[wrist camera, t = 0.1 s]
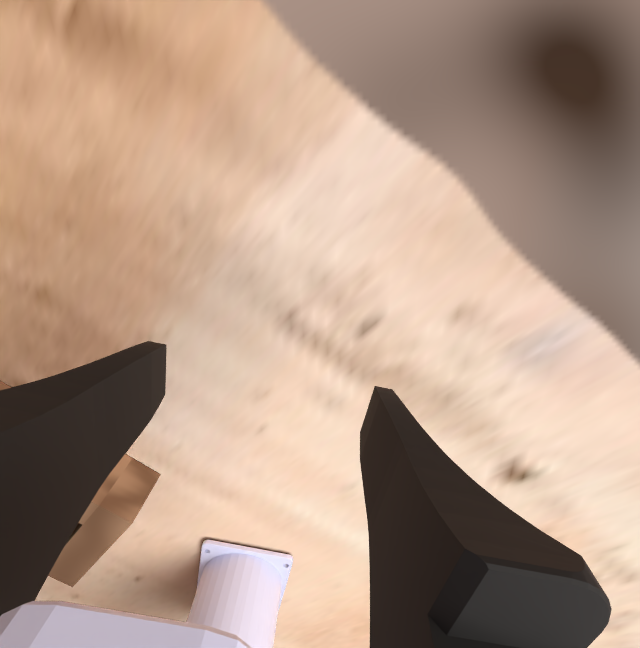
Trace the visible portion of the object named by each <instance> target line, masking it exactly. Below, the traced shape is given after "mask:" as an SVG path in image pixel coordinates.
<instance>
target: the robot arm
mask: <svg viewBox="0 0 640 648" xmlns="http://www.w3.org/2000/svg"><path fill="white" fill-rule="evenodd" d="M165 382H166V345H165V344H160V343H155V342H150V341H148V342H144V343H141V344H138V345H136V346H133V347H130V348H128V349H125V350H123V351H120V352H118V353H115V354H112V355H110V356H107V357H105V358H102V359H100V360H97V361H94V362H92V363H89V364H86V365H83V366H81V367H78V368H75V369H72V370H69V371H66V372H63V373H61V374H58V375H55V376H51V377H48V378H45V379H41V380H38V381H35V382H31V383H27V384H23V385H20V386H16V387H12V388H8V389H3V390H0V648H273V646H274V638H275V631H276V623H277V616H278V611H279V608H280V604H281V601H282V598H283V594H284V591H285V587H286V584H287V581H288V577H289V574H290V570H291V567H292V563H293V557H292V556H291V555H289V554H284V553H278V552H273V551H267V550H262V549H257V548H251V547H246V546H240V545H235V544H230V543H224V542H219V541H214V540H205V541H204V542H203V544H202V549H201V557H200V565H199V574H198V582H197V591H196V594H195V597H194V600H193V603H192V606H191V609H190V612H189V615H188V618H187V621H186V622H182V621H177V620H171V619H165V618H159V617H153V616H147V615H141V614H135V613H129V612H123V611H117V610H111V609H105V608H99V607H93V606H87V605H81V604H75V603H69V602H63V601H34V600H35V599H36V597H37V595H38V593H39V591H40V589H41V587H42V586H43V584H44V582H45V580H46V578H47V577H48V575H49V573H50V571H51V569H52V568H53V566H54V564H55V562H56V560H57V559H58V557H59V555H60V553H61V551H62V550H63V548H64V546H65V545H66V543H67V541H68V540H69V538H70V536H71V534H72V533H73V531H74V529H75V528H76V526H77V524H78V523H79V521H80V519H81V517H82V516H83V514H84V513H85V511H86V509H87V508H88V506H89V505H90V503H91V501H92V500H93V498H94V496H95V495H96V493H97V492H98V490H99V488H100V487H101V485H102V484H103V483H104V481H105V480H106V478H107V477H108V476H109V474H110V473H111V472H112V470H113V469H114V468H115V466H116V465H117V464H118V462H119V461H120V460H121V459H122V457H123V456H124V455H125V453H126V452H127V451H128V449H129V448H130V447H131V445H132V444H133V443H134V442H135V440H136V439H137V438H138V436H139V435H140V434H141V432H142V431H143V430H144V428H145V427H146V426H147V424H148V423H149V422H150V420H151V419H152V417H153V415H154V414H155V412H156V410H157V409H158V407H159V405H160V403H161V401H162V399H163V398H164V396H165ZM360 463H361V471H362V480H363V488H364V496H365V504H366V512H367V520H368V531H369V557H370V648H587V647H588V646H589V645H590V644H591V643H592V642H593V641H594V640H595V639H596V638H597V637H598V636H599V635H600V634H601V633H602V631H603V630H604V628H605V627H606V625H607V624H608V622H609V618H610V614H611V606H610V602H609V599H608V597H607V596H606V594H605V592H604V591H603V589H602V588H601V586H600V585H599V583H598V581H597V580H596V578H595V577H594V575H593V573H592V572H591V570H590V569H589V567H588V565H587V564H586V562H585V561H584V559H583V558H582V556H581V555H579V554H578V553H576V552H574V551H573V550H571V549H569V548H568V547H566V546H565V545H563V544H561V543H560V542H558V541H557V540H555V539H553V538H552V537H550V536H549V535H547V534H545V533H544V532H542V531H541V530H539V529H537V528H536V527H534V526H533V525H532V524H530V523H529V522H527V521H526V520H524V519H523V518H522V517H520V516H519V515H517V514H516V513H514V512H513V511H512V510H510V509H509V508H508V507H506V506H505V505H504V504H502V503H501V502H500V501H498V500H497V499H496V498H494V497H493V496H492V495H491V494H490V493H488V492H487V491H486V490H485V489H483V488H482V487H481V486H480V485H478V484H477V483H476V482H475V481H474V480H473V479H472V478H470V477H469V476H468V475H467V474H466V473H465V472H464V471H463V470H462V469H461V468H460V467H459V466H457V465H456V464H455V463H454V462H453V461H452V460H451V459H450V458H449V457H448V456H447V455H446V454H445V453H444V452H443V451H442V449H441V448H440V447H439V446H438V445H437V444H436V443H435V442H434V441H433V440H432V439H431V437H430V436H429V435H428V434H427V433H426V432H425V430H424V429H423V428H422V427H421V426H420V424H419V423H418V422H417V421H416V419H415V418H414V417H413V416H412V414H411V413H410V412H409V410H408V409H407V408H406V406H405V405H404V404H403V403H402V401H401V400H400V399H399V397H398V396H397V395H396V394H395V392H394V391H393V390H392V389H387V388H382V387H377V386H375V387H374V391H373V394H372V397H371V400H370V403H369V406H368V409H367V413H366V416H365V419H364V422H363V425H362V428H361V431H360Z"/></svg>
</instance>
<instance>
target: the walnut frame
mask: <svg viewBox="0 0 640 648" xmlns="http://www.w3.org/2000/svg"><path fill="white" fill-rule="evenodd" d="M8 388H12V387H10V386H8V385H6V384H5V383H3V382H1V381H0V390H3V389H8ZM159 476H160V474H159V473H157V472H155V471H154V470H152V469H150V468H148V467H147V466H145V465H143V464H142V463H140V462H138V461H136V460H135V459H133V458H131V457H130V456H128V455H126V454H125V455H124V456H123V457H122V459H121V460H120V461H119V462H118V464H117V465H116V466H115V468H114V469H113V470H112V472H111V473H110V474H109V476H108V477H107V478H106V480H105V481H104V483H103V484H102V485H101V487H100V488H99V490H98V492H97V493H96V495H95V496H94V498H93V500H92V501H91V503H90V505H89V506H88V508H87V509H86V511H85V513H84V514H83V516H82V517H81V519H80V521H79V523H78V524H77V526H76V528H75V529H74V531H73V533H72V534H71V536H70V538H69V540H68V541H67V543H66V545H65V546H64V548H63V550H62V551H61V553H60V555H59V557H58V559H57V560H56V562H55V564H54V566H53V568H52V569H51V571H50V573H49V575H48V576H50V577H52V578H54V579H56V580H58V581H61V582H63V583H65V584H67V585H69V586H71V587H73V586H74V585H75V584H76V583H77V582H78V581H79V579H80V578H81V577H82V576H83V575H84V574H85V573H86V572H87V571H88V570H89V569H90V568H91V567H92V566H93V565H94V564H95V562H96V561H97V560H98V559H99V558H100V557H101V556H102V555H103V554H104V553H105V552H106V551H107V550H108V549H109V548H110V546H111V545H112V544H113V543H114V542H115V541H116V540H117V539H118V538H119V537H120V536H121V535H122V534H123V533H124V532H125V531H126V529H127V528H128V527H129V526H130V525H131V524H132V523H133V521H134V519H135V518H136V516H137V514H138V513H139V511H140V509H141V507H142V506H143V504H144V502H145V500H146V499H147V497H148V495H149V493H150V492H151V490H152V488H153V487H154V485H155V483H156V481H157V480H158V478H159Z"/></svg>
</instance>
